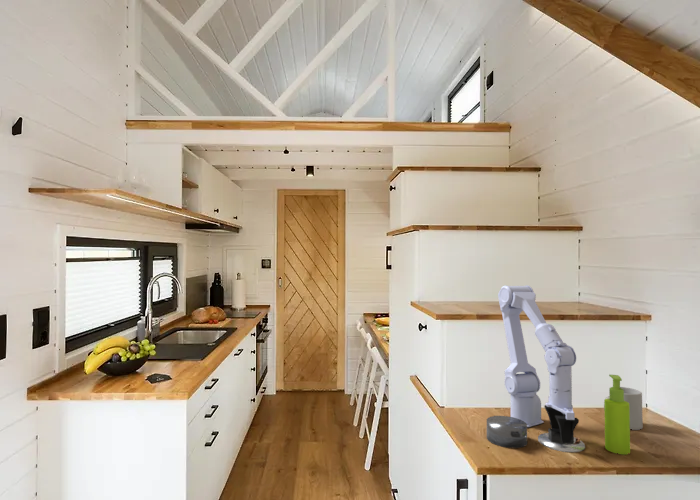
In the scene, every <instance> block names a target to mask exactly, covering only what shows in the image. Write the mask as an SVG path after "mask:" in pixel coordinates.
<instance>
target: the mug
mask: <svg viewBox="0 0 700 500" xmlns="http://www.w3.org/2000/svg"><path fill="white" fill-rule="evenodd" d="M620 388H622V389H623V390H624V401H626V402H628V403H629V410H630V429H632V430H631V431H639V430H640V429H641V430H642V429H644V428H643V427H644V425H643V424H644V421H643V392H642V391H641V390H639V389H635V388H630V387H625V386H620ZM605 399H610V395H608V396H607V397H605ZM641 430H640V431H641Z"/></svg>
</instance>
